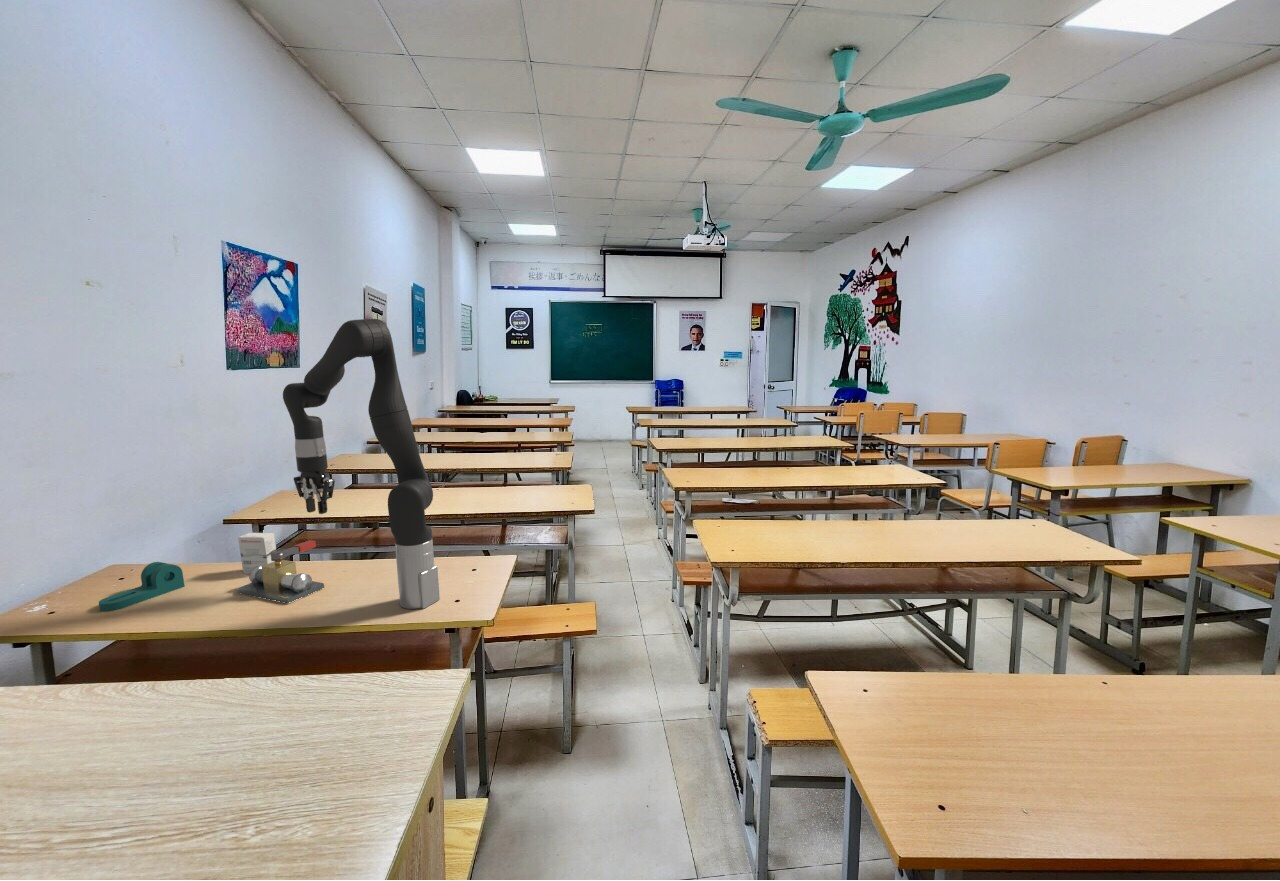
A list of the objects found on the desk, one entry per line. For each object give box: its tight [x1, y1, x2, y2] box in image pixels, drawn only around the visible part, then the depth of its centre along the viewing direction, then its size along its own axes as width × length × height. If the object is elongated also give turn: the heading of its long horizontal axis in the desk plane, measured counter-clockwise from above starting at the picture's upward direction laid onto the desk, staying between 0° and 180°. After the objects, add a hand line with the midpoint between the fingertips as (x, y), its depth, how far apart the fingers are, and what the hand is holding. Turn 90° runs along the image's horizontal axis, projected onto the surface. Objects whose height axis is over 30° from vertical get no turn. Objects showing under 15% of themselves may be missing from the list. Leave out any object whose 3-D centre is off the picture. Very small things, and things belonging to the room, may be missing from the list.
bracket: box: [98, 561, 186, 613], centre depth 159 cm, size 18×7×8 cm, turn 158°
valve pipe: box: [237, 559, 325, 604], centre depth 162 cm, size 20×11×9 cm, turn 68°
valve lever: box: [271, 539, 317, 561], centre depth 165 cm, size 3×13×2 cm, turn 158°
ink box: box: [238, 532, 277, 575], centre depth 176 cm, size 9×5×12 cm, turn 84°
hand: (317, 512), depth 165 cm, fingers open, 4 cm apart
